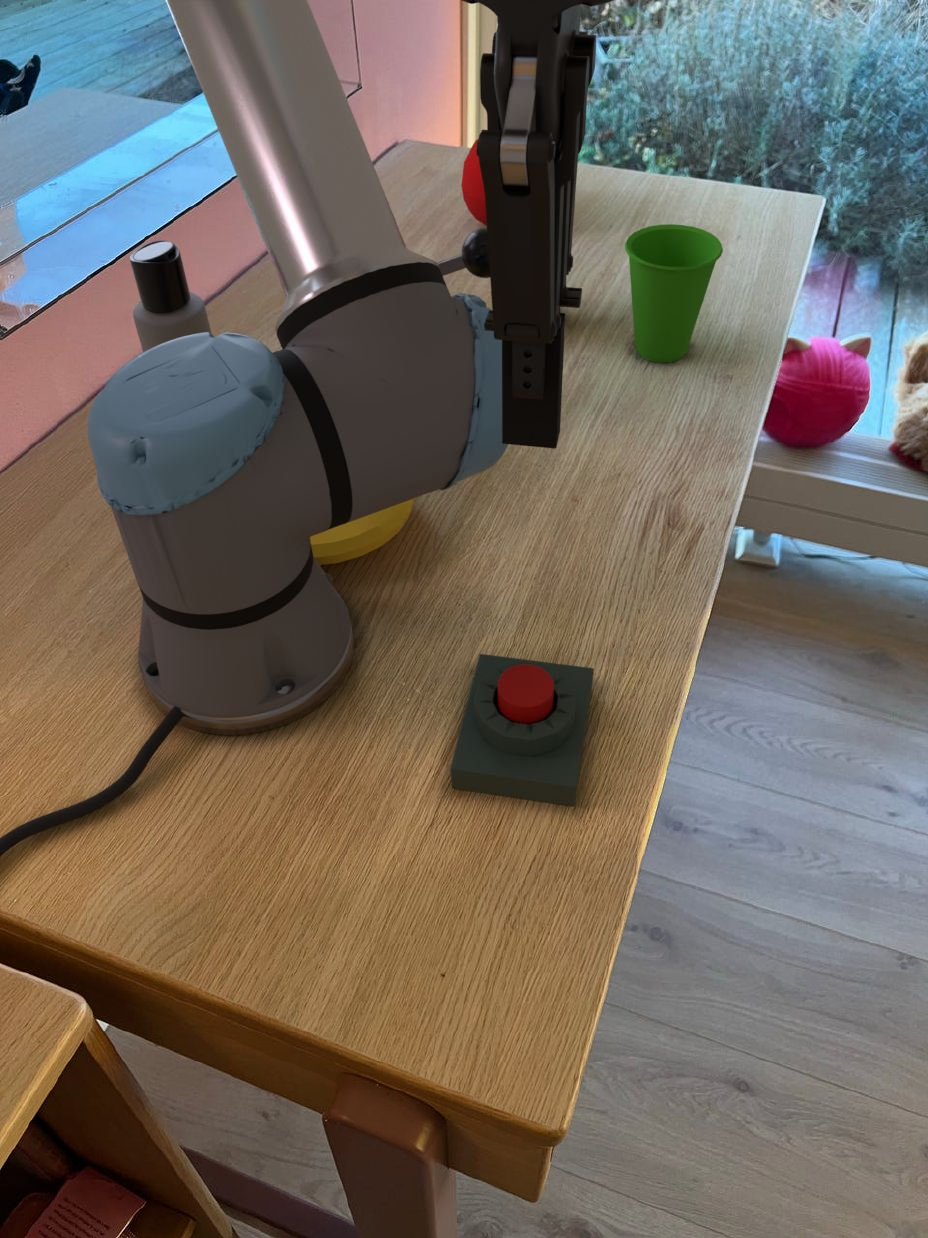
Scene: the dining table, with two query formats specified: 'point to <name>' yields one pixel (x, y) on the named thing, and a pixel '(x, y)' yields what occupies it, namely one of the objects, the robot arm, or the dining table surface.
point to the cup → (669, 286)
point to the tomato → (474, 186)
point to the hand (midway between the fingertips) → (531, 437)
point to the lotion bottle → (164, 296)
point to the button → (525, 693)
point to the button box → (523, 737)
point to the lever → (470, 256)
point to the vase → (359, 535)
